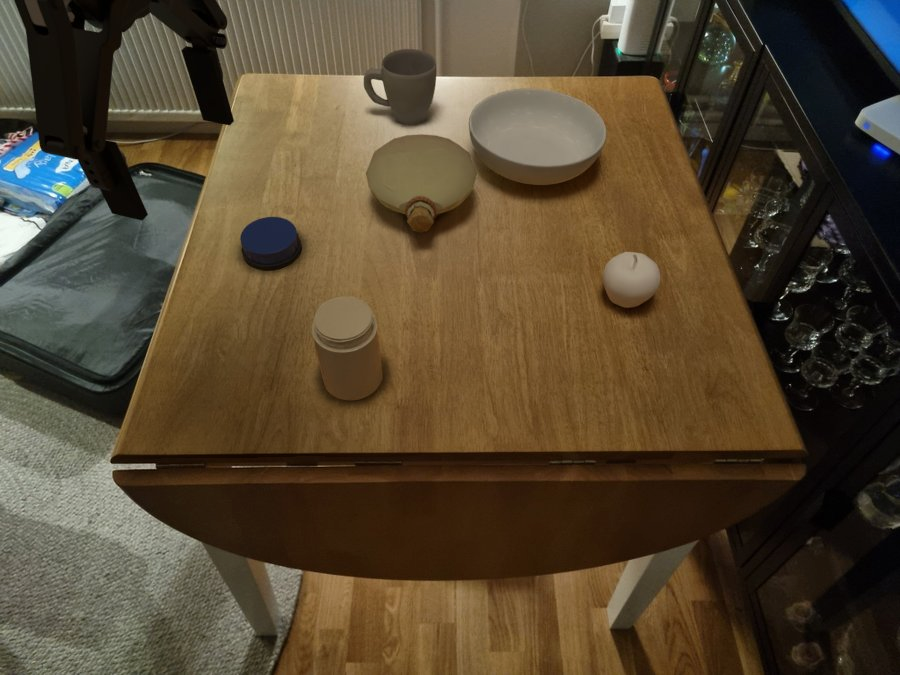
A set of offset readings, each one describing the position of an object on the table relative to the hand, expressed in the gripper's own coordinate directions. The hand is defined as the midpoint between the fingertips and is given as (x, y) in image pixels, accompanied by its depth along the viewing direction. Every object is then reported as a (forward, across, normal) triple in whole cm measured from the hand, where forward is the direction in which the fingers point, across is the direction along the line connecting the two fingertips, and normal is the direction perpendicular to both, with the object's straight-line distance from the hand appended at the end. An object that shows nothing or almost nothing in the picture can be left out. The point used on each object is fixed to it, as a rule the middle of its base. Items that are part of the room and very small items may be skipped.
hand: (177, 164), depth 54 cm
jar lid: (+26, -19, -7) cm, 33 cm away
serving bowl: (+29, -50, +23) cm, 62 cm away
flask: (+29, -33, +10) cm, 45 cm away
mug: (+29, -56, -1) cm, 63 cm away
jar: (+29, -2, +12) cm, 31 cm away
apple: (+29, -25, +41) cm, 56 cm away
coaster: (+29, -19, -7) cm, 35 cm away
